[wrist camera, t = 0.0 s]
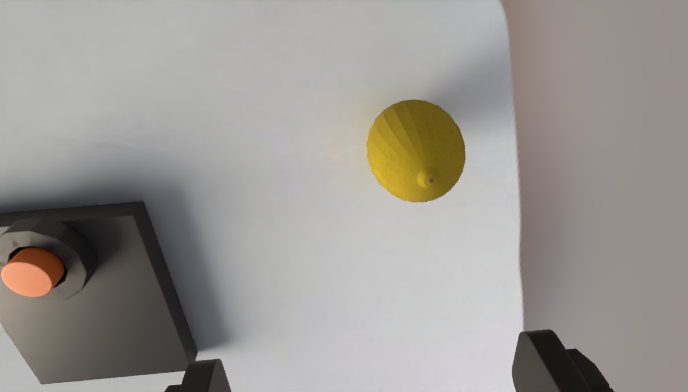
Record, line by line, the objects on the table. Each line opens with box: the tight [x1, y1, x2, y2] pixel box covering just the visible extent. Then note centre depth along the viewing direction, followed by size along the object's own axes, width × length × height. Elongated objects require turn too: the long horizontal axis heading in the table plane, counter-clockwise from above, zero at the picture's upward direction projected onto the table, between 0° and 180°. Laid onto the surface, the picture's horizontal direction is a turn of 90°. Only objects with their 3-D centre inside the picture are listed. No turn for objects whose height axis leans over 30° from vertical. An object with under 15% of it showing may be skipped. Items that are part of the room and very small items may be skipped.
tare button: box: [1, 247, 65, 297], centre depth 27 cm, size 3×3×2 cm
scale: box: [0, 201, 198, 384], centre depth 31 cm, size 16×13×4 cm
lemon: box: [367, 100, 465, 202], centre depth 24 cm, size 6×6×8 cm
